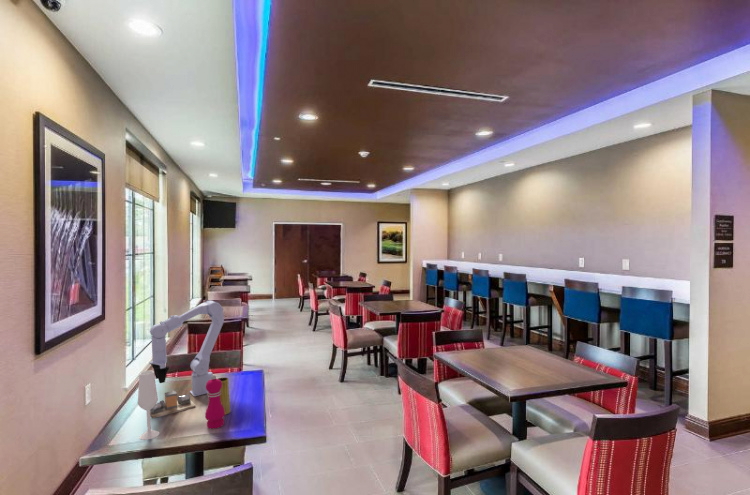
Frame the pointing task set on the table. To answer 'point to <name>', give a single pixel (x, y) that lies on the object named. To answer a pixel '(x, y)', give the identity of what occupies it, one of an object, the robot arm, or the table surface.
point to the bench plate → (174, 409)
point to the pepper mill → (214, 404)
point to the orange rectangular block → (170, 400)
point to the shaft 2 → (184, 399)
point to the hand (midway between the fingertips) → (160, 380)
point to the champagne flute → (147, 400)
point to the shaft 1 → (158, 407)
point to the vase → (225, 395)
